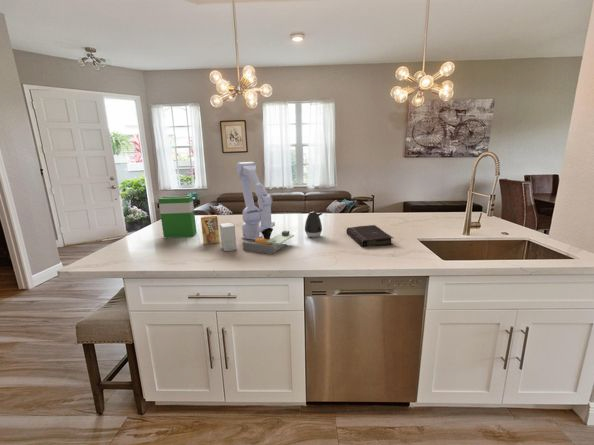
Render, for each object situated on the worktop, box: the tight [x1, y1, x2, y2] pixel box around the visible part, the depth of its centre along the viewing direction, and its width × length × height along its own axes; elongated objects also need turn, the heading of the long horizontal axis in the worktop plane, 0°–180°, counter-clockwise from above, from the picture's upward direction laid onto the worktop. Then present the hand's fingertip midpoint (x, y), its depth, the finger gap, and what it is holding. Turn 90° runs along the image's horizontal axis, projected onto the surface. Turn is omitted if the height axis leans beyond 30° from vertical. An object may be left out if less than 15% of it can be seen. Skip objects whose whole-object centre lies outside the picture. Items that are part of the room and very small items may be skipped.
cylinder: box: [254, 237, 272, 246], centre depth 158 cm, size 10×3×3 cm, turn 63°
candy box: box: [200, 214, 221, 245], centre depth 164 cm, size 9×4×15 cm, turn 110°
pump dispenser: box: [304, 210, 323, 238], centre depth 171 cm, size 10×10×15 cm
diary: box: [345, 224, 394, 248], centre depth 164 cm, size 19×25×5 cm
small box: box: [219, 222, 237, 252], centre depth 154 cm, size 8×6×13 cm
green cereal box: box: [157, 195, 198, 238], centre depth 178 cm, size 18×7×24 cm, turn 94°
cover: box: [266, 230, 295, 245], centre depth 154 cm, size 16×8×3 cm, turn 153°
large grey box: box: [242, 241, 287, 255], centre depth 155 cm, size 18×15×4 cm
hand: (267, 241), depth 161 cm, fingers closed
